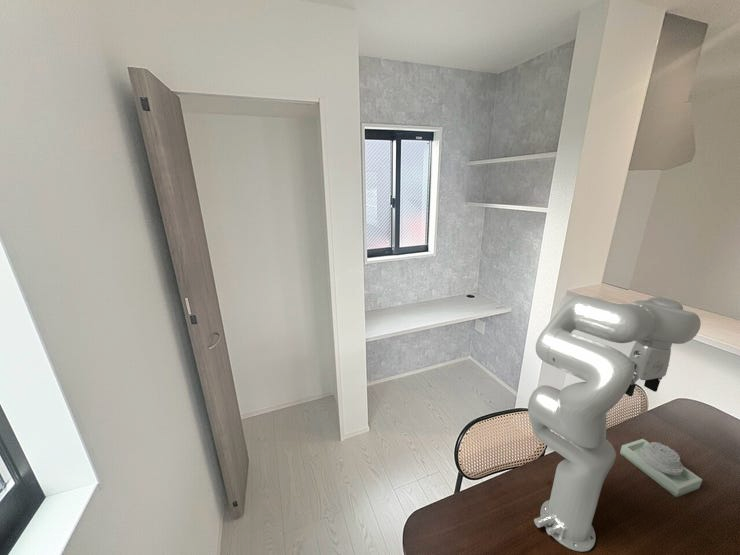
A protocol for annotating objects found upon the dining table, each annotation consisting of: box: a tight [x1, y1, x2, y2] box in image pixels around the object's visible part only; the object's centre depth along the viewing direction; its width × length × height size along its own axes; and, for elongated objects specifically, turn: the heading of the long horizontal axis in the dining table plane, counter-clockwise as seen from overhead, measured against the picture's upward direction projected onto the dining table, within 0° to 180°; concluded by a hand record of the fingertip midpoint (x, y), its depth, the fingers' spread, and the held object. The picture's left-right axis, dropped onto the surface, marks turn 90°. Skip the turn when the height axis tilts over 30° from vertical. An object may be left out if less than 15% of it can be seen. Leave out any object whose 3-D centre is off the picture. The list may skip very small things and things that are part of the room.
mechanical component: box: [640, 441, 684, 475], centre depth 94 cm, size 10×4×10 cm
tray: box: [619, 438, 703, 498], centre depth 96 cm, size 10×16×4 cm, turn 15°
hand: (638, 391), depth 89 cm, fingers open, 9 cm apart
